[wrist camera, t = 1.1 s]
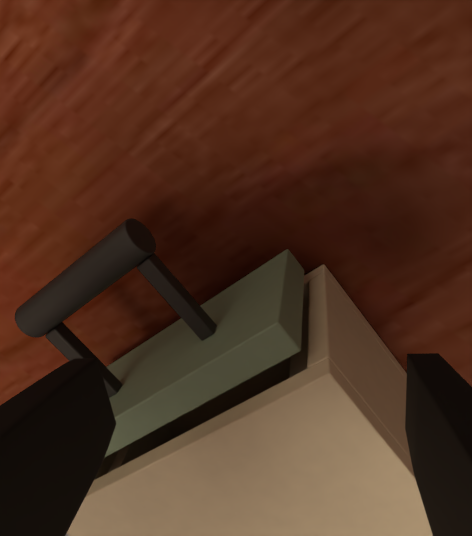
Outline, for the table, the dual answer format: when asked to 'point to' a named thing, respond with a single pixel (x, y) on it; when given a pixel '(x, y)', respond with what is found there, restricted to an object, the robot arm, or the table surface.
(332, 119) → the table surface
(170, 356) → the drawer
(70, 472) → the robot arm
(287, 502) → the small storage cabinet
